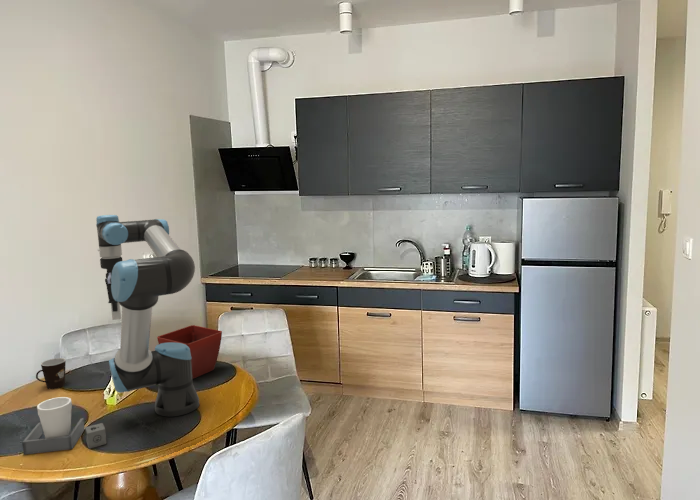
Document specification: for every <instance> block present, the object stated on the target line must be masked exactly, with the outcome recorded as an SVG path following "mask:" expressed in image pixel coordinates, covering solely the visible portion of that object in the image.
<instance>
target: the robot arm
mask: <svg viewBox="0 0 700 500" xmlns="http://www.w3.org/2000/svg"><path fill="white" fill-rule="evenodd" d="M95 220H96V224H95V225H96V230H97V240H98V248H97V251H98V252H99V257H100V259H99V262H100V264H99V265H100V269H103V270H106V273H105V279H104V281H105V285H106V292H107V296H108V297H107V298H108V302H107V303H108V304H110V307H111V308H110V309H111V317H112V321H114V320H115V321H116V320H121V323H120V324H121V326H120V345H119V346H120V348H119V349H118V351H117V352H116V353H115V357H113V358H111V359H109V360H108V364H109V365H108V366H109V370H110V371H109V372H110V374H111V378H112V381H113V386H114V387H113V388H114V390H115V391H116V392H117V393H118V394H119V393H120V394H121V393H129V392H131V391H132V392H133V391H136V390H139V389H144V388H149V387H152V386H156V385H158V386H157V387H158V391H157V395H156V398H155V402H154V410H155V413H156V414H157V415H158V416H161V417H178V416H184V415H186V414H189V413H192V412H194V411H196V409H198V408H199V407H200V397H199V395H198V393H197V390H196V388H195V386H194V381H193V380H194V379H192V365H191V359H192V357H191V353H190V348H189V347H188V346H187V345H185V344H182V343H175V342H168V343H161V344H159V343H158V344H156V345H155V347H154V350H151V349H150V348H149V347H150V337H151V336H150V335H151V324H152V314H153V312H152V311H153V307H155V306H156V305H157V304H158V302H159V297H160V296H167V295H173V294H176V293H179V292H180V291H182V290H184V289H185V288H187V286H189V284H190V283H191V282H192V280H193V278H194V276H195V273H196V272H195V271H196V266H195V265H196V264H195V261H194V259H193V257H192V256H191V255H190V253H188V251H186V250H184V249H181V248H180V247H179V245H178V244H177V243H176V241H174V240H173V238H172V237H171V235H170V226H169V224H168V221H167V220H166V219H163V218H162V219H160V218H155V219H145V220H132V221H129V220H128V221H120V219H119V216H118V215H117V214H105V215H98V216H96V219H95ZM137 242H139V243H141V242H146V244H148V247H150V249H151V250H152V252H153V253H154V255H155V257H154V256H153V257H147V258H138V259H133V258H130V259H126V260H123V257H122V255H123V252H122V251H123V250H122V244H129V243H137Z"/></svg>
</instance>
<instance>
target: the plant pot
mask: <svg viewBox="0 0 700 500" xmlns="http://www.w3.org/2000/svg"><path fill="white" fill-rule="evenodd" d="M222 335H223V330H219V329H214V328H208V327H203V326H199V325H195V324H194V325H193V324H192V325H187V326H185V327H182V328H179V329H175V330H173V331H170V332H167V333H164V334H161V335H158V336H156V338H157V342H158V344H161V343H168V342H175V343H182V344H185V345H187V346H188V347H189V348H190V353H191V357H192V359H191V365H192V379H193V380H194V379H196V378H198V377H201V376H203V375H206V374H207V373H210V372H212V371H214V369H215V367H216V365H217V362H218V358H219V354H220V348H221V344H222Z"/></svg>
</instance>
